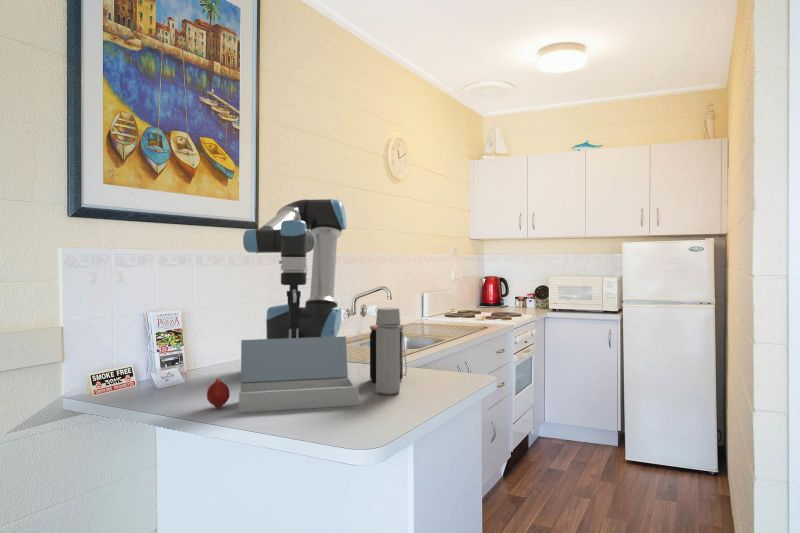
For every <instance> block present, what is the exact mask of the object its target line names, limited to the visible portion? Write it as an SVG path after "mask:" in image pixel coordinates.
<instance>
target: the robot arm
mask: <svg viewBox="0 0 800 533" xmlns="http://www.w3.org/2000/svg"><path fill="white" fill-rule="evenodd" d="M344 205H345V204H344V203H343V201H342V200H340V199H332V198H330V199H329V198H328V199H327V198H326V199H324V198H323V199H300V200H295V201H293V202H290V203H288V204H286V205H284V206H282V207H281V208H280V209H279V210H278V211H277V212H276V213H275V214H276V215H275V216H274V217H272V218H271V219H270V220H268V222H266V223H265V224H264V225H262V226H261V227H260V228H256V229H255V228H251V229H246V230H245V231H244V233H243V236H242V237H243V238H242V243H243V245H242V246H243V248H244V250H245V251H246V252H247V253H251V254H252V253H253V254H266V253H267V254H272V253H274V254H275V253H279V254H280V260H278V264H280V270H281V271H282V272H281V273H280V284H281V285H282V286H289V290H286V297H287V303H286V304H280V305H273V306H270V307H268V308H267V310H266V319H265V321H266V323H265V324H266V326H265V327H266V339H286V338H316V337H338V335H339V332H340V329H341V323H342V309H341V308H340V307H338V302H337V301H336V300H335V298H334V297H335V296H334V295H335V278H336V265H337V262H336V260H337V246H338V238H339V237H341V236H342V231H345V230H346V229H347V216H346V210H345V206H344ZM312 250H313V252H312V266H311V281H310V292H309V293H310V295H309V298H308V299H307V300H305V305H304V306H302V307H301V306H300V304H301V297H302V296H301V294H302V293H301V290H299V286H305V285H306V284H307V273H306V272H305V271H307V254H308V253H310V252H311V251H312Z"/></svg>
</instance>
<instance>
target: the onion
mask: <svg viewBox="0 0 800 533" xmlns="http://www.w3.org/2000/svg"><path fill="white" fill-rule="evenodd" d="M229 398H230V389H229V387H228V385H227V384H226V383H224V382H223V381H222V380H221V379H220V378H216V379H215V382H213V383H212V384H211V385H210V386H208V388H207V392H206V399H207V401H208V402H209V403H210V404H211V405H212V406H213V407H215V408H216V409H221V407H223V406H224V405H225V404H227V402H228V401H229Z"/></svg>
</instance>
